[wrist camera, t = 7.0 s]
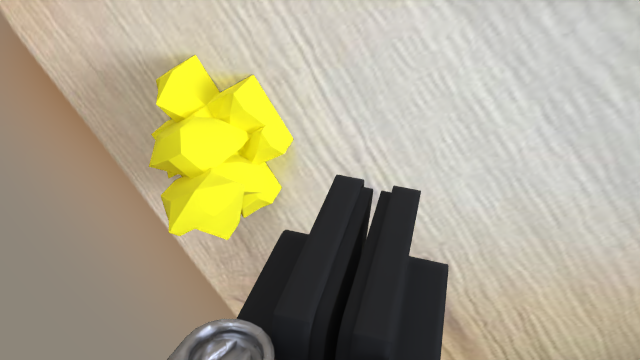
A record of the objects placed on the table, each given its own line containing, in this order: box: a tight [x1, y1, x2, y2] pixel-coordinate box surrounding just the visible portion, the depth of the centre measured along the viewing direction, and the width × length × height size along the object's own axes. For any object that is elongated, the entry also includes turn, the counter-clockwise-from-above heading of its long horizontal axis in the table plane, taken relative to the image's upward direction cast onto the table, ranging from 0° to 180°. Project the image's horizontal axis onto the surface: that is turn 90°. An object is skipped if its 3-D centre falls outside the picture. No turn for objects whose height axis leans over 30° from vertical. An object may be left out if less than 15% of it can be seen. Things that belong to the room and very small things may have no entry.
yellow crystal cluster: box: [149, 55, 293, 240], centre depth 26 cm, size 6×8×8 cm
